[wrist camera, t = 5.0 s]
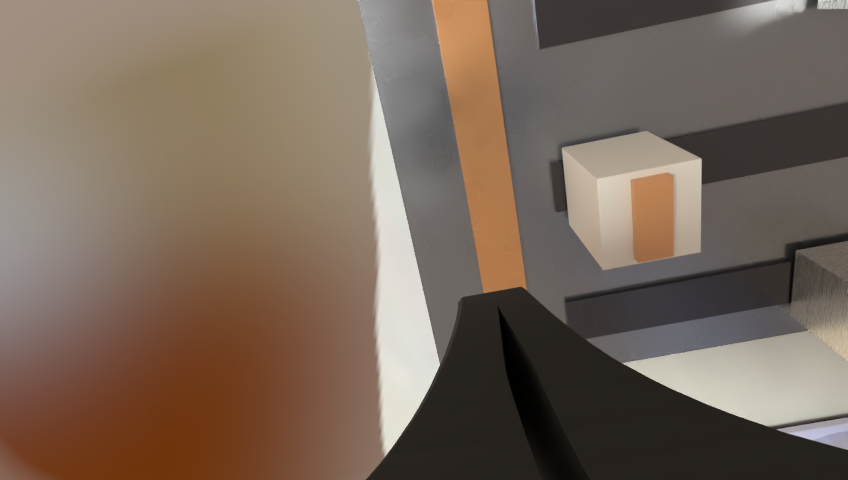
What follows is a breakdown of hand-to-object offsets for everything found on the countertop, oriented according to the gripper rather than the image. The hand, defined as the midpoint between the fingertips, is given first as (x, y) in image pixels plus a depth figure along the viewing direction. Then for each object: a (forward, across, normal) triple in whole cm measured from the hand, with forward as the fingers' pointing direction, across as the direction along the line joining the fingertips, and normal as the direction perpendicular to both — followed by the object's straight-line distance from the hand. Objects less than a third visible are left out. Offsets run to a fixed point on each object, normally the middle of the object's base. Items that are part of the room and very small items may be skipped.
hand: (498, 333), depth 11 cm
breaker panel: (+10, -9, 0) cm, 13 cm away
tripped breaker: (+8, -5, 0) cm, 9 cm away
